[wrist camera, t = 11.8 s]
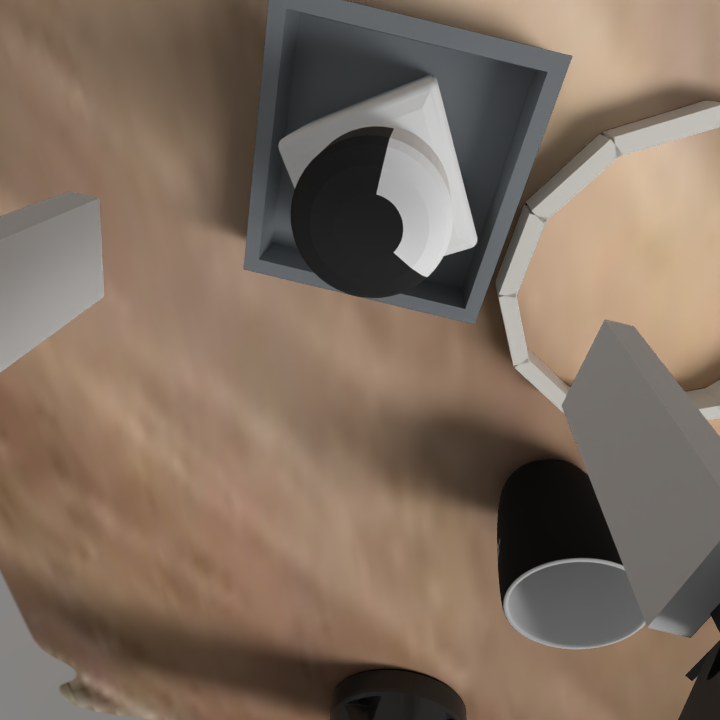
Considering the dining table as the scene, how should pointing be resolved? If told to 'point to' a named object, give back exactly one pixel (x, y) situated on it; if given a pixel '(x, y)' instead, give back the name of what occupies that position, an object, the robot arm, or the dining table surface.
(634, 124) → the ring holder
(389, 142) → the medicine bottle
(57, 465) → the dining table surface
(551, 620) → the mug
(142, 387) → the dining table surface
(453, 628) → the dining table surface
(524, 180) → the tray
